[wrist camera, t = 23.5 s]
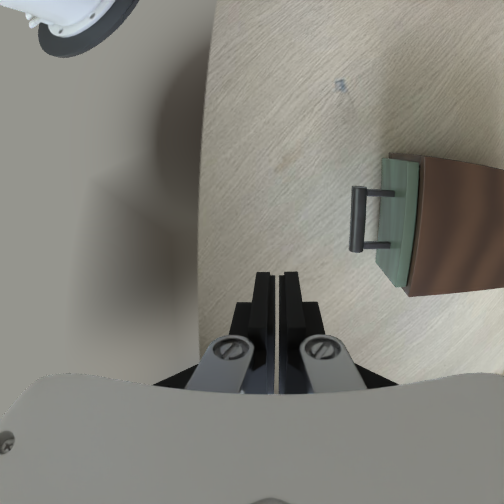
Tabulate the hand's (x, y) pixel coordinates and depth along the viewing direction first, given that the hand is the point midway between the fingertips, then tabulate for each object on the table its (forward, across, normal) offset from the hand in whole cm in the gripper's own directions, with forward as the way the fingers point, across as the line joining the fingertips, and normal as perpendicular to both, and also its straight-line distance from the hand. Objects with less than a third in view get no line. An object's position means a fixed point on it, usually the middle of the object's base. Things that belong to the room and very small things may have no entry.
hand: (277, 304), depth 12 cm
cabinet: (+19, -20, 0) cm, 28 cm away
